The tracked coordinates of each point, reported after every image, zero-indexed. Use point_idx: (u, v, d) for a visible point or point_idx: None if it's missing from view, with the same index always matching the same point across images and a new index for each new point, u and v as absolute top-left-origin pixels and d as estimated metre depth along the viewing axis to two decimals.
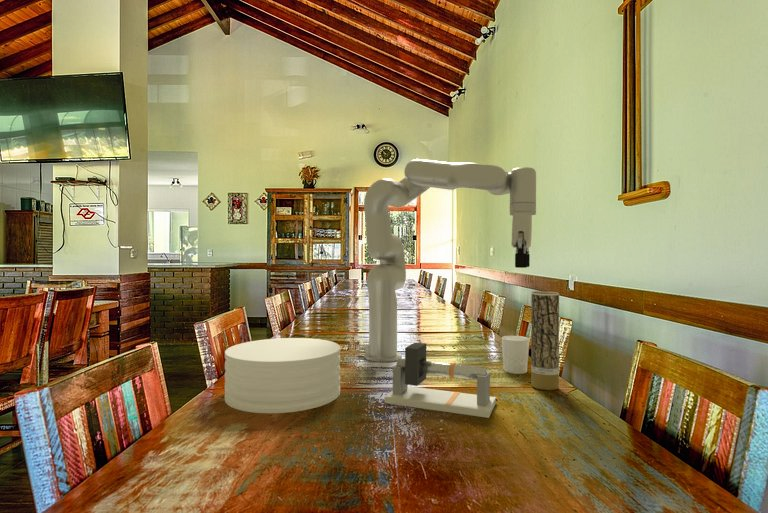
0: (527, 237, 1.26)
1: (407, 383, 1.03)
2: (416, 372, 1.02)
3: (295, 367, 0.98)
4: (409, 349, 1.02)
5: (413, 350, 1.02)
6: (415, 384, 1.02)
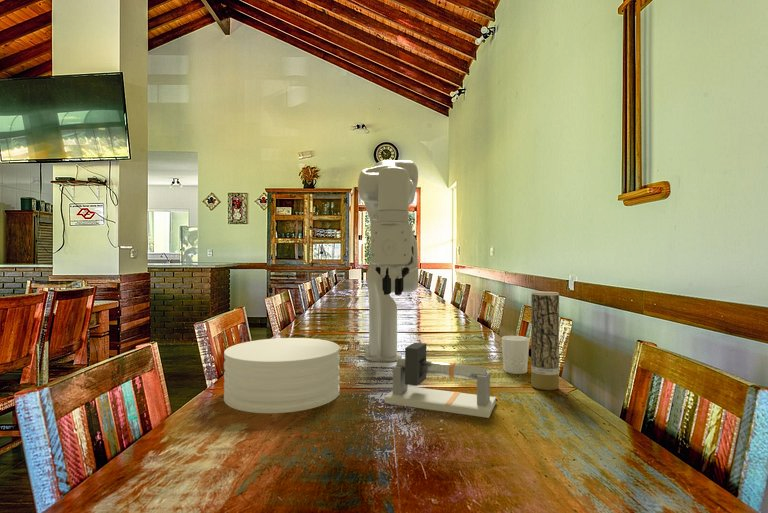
0: None
1: (407, 383, 1.03)
2: (416, 372, 1.02)
3: (294, 367, 0.98)
4: (409, 349, 1.02)
5: (413, 350, 1.02)
6: (415, 384, 1.02)
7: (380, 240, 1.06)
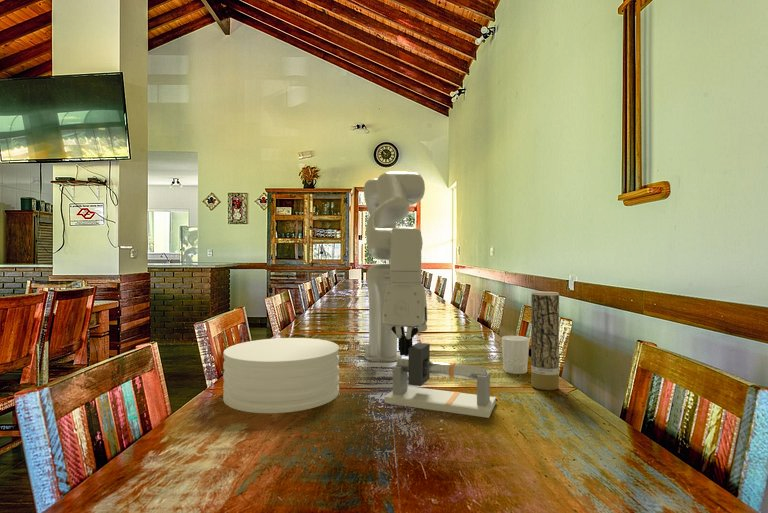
0: None
1: (410, 383, 1.02)
2: (419, 372, 1.01)
3: (293, 367, 0.98)
4: (412, 349, 1.02)
5: (416, 350, 1.02)
6: (418, 384, 1.01)
7: (393, 301, 1.05)
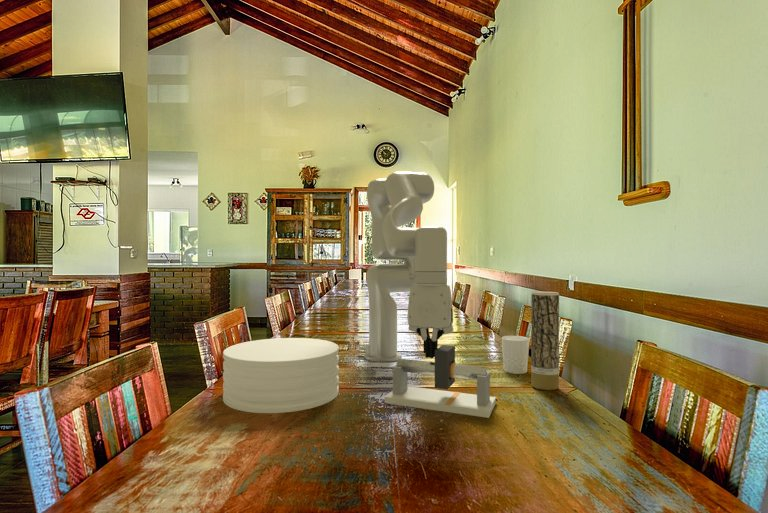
0: None
1: (437, 387, 1.00)
2: (446, 375, 0.99)
3: (293, 366, 0.98)
4: (439, 352, 1.00)
5: (443, 353, 0.99)
6: (445, 388, 0.99)
7: (418, 302, 1.02)
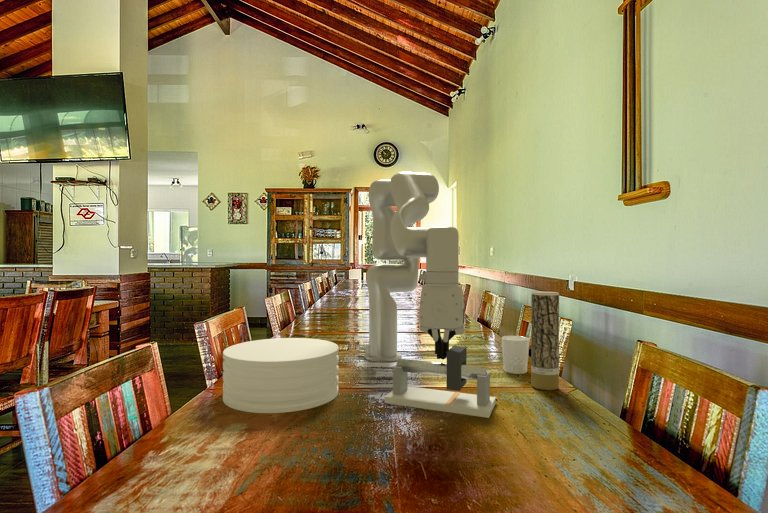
0: None
1: (449, 388, 0.99)
2: (458, 377, 0.98)
3: (292, 367, 0.98)
4: (451, 353, 0.99)
5: (455, 354, 0.98)
6: (457, 389, 0.98)
7: (429, 302, 1.01)
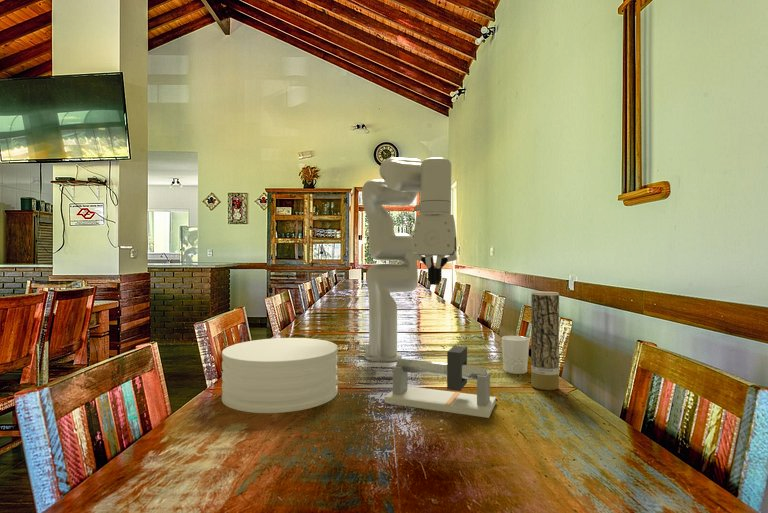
0: None
1: (449, 388, 0.99)
2: (459, 377, 0.98)
3: (291, 366, 0.98)
4: (451, 353, 0.99)
5: (456, 354, 0.98)
6: (458, 389, 0.98)
7: (423, 230, 1.06)
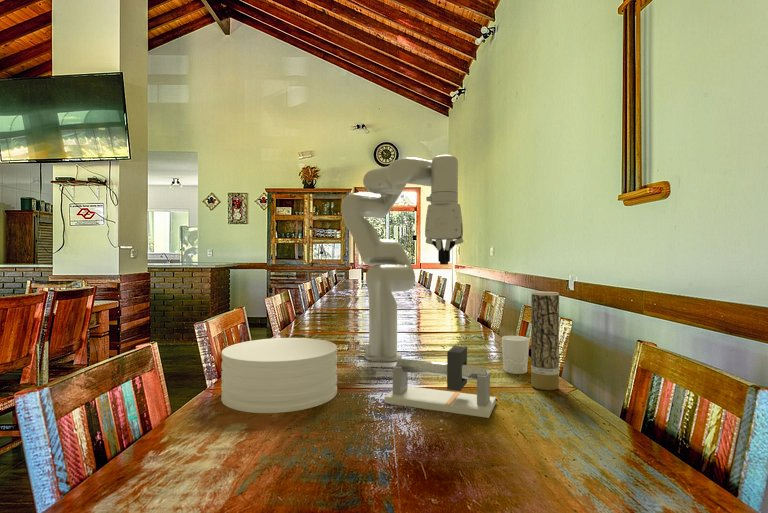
0: None
1: (449, 388, 0.99)
2: (459, 377, 0.98)
3: (291, 366, 0.98)
4: (451, 353, 0.99)
5: (456, 354, 0.98)
6: (458, 389, 0.98)
7: (434, 217, 1.24)
